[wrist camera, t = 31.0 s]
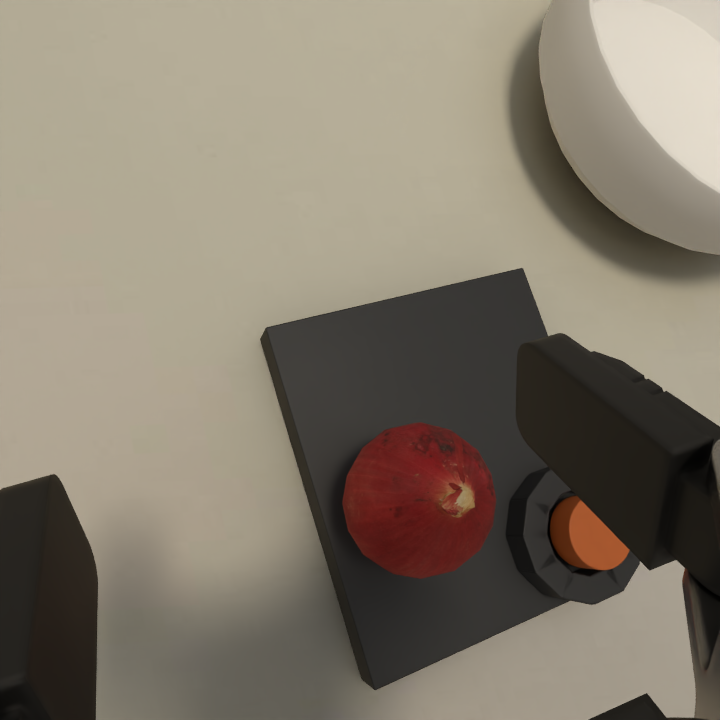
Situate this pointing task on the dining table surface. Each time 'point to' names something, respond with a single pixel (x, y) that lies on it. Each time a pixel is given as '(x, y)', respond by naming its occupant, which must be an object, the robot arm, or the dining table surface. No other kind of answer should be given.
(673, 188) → the bowl
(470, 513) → the pomegranate
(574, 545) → the button
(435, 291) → the scale
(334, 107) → the dining table surface
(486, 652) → the dining table surface
